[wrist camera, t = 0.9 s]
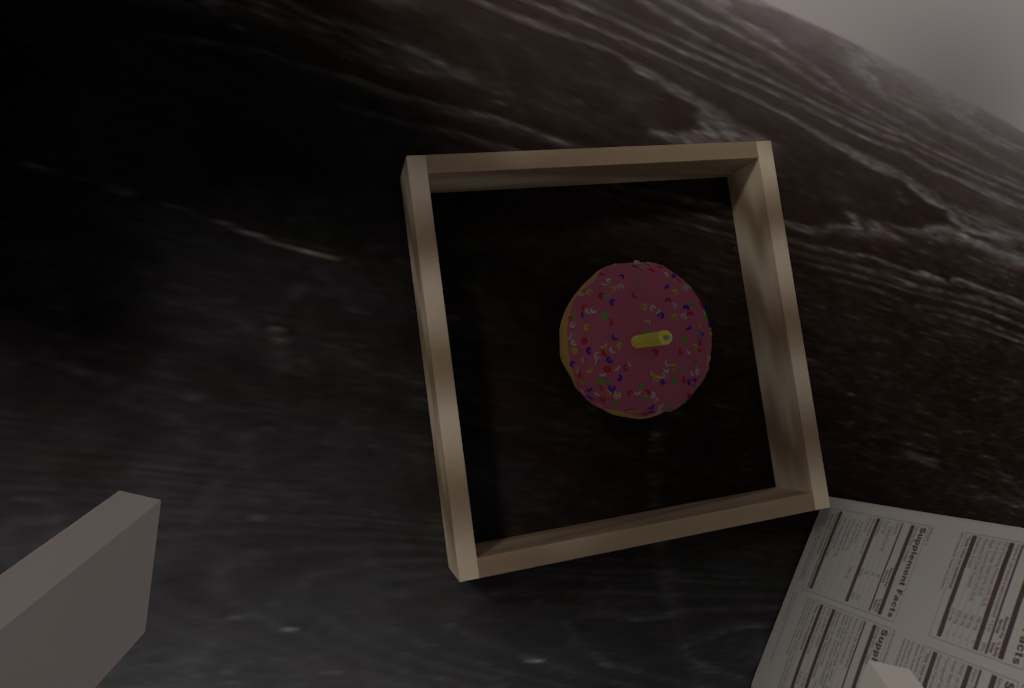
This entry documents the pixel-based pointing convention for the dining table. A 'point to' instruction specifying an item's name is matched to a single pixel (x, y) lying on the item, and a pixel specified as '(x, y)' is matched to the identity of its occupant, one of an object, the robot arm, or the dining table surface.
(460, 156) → the birch box
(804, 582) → the supplement box
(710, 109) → the dining table surface
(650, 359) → the cupcake
